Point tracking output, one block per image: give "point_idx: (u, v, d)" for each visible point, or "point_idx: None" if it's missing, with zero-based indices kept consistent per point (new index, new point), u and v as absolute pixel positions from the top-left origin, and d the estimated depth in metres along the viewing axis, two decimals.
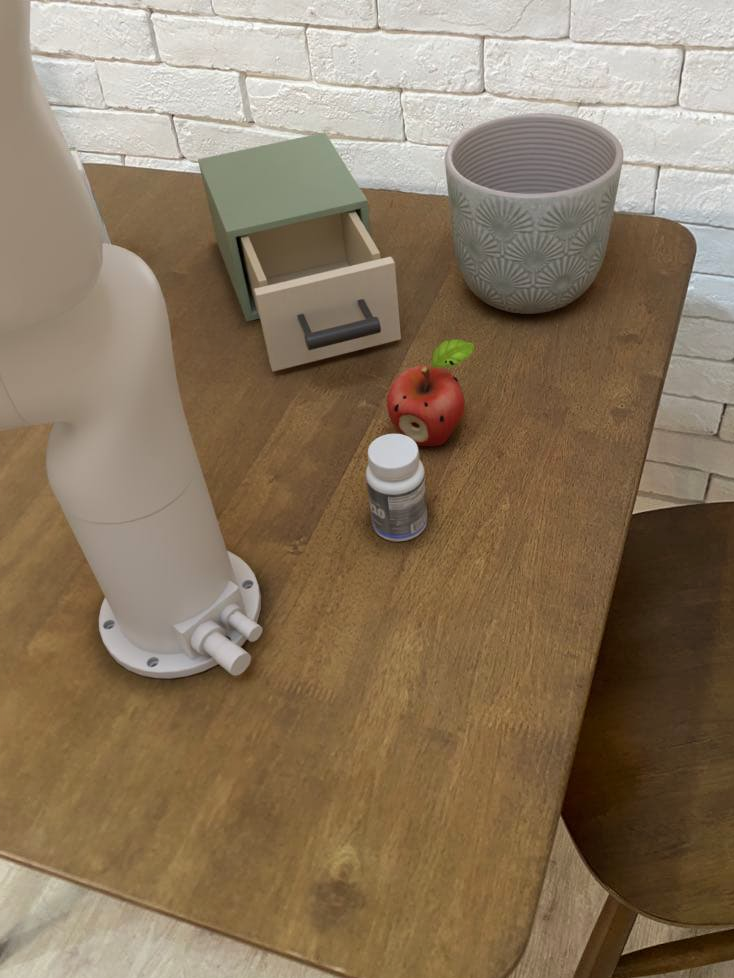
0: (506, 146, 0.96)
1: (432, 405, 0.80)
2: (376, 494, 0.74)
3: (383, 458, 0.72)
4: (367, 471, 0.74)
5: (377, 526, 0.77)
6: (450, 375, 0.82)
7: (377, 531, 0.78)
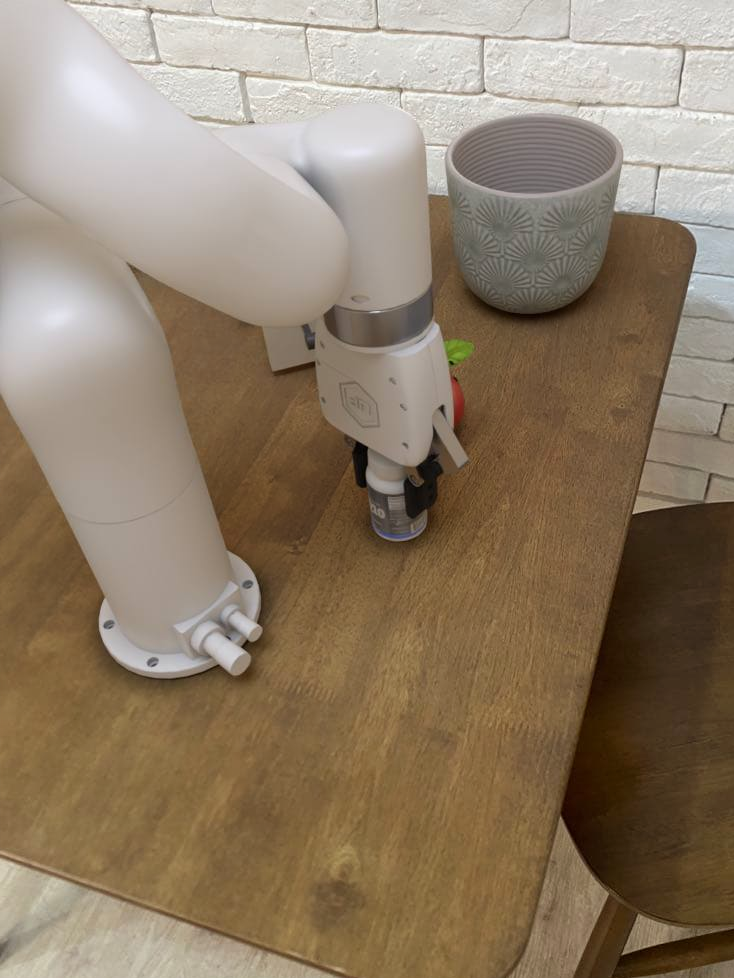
0: (506, 146, 0.96)
1: None
2: (376, 494, 0.74)
3: (383, 458, 0.72)
4: (367, 471, 0.74)
5: (377, 526, 0.77)
6: (450, 375, 0.82)
7: (377, 531, 0.78)
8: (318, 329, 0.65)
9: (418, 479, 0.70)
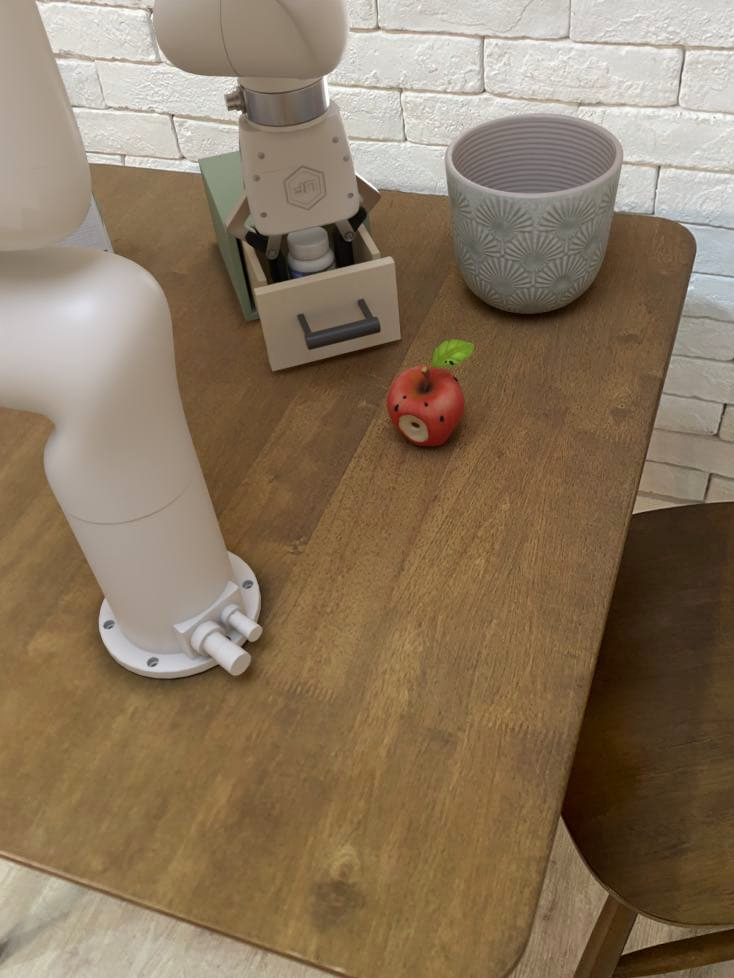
0: (506, 146, 0.96)
1: (432, 405, 0.80)
2: None
3: (310, 241, 0.90)
4: (299, 265, 0.91)
5: None
6: (450, 375, 0.82)
7: None
8: (255, 143, 0.81)
9: (352, 231, 0.91)
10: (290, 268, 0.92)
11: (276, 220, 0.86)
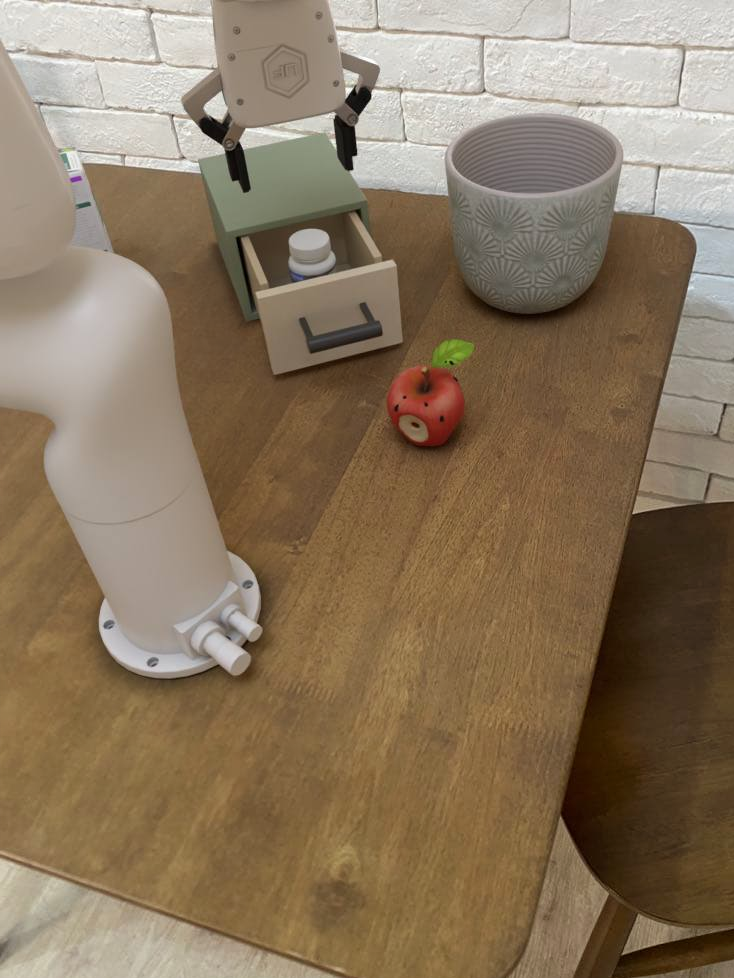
0: (506, 146, 0.96)
1: (432, 405, 0.80)
2: None
3: (312, 244, 0.90)
4: (301, 268, 0.91)
5: None
6: (450, 375, 0.82)
7: None
8: (229, 15, 0.73)
9: (356, 114, 0.83)
10: (291, 271, 0.92)
11: (254, 109, 0.78)
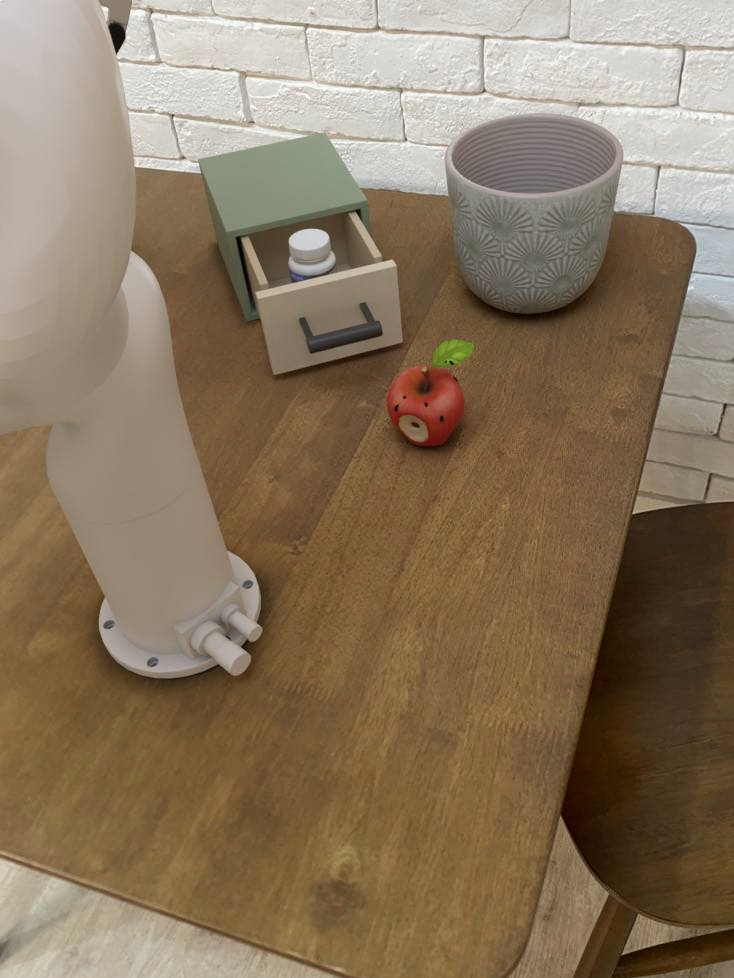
0: (506, 146, 0.96)
1: (432, 405, 0.80)
2: None
3: (312, 244, 0.90)
4: (301, 268, 0.91)
5: None
6: (450, 375, 0.82)
7: None
8: None
9: None
10: (291, 271, 0.92)
11: None
